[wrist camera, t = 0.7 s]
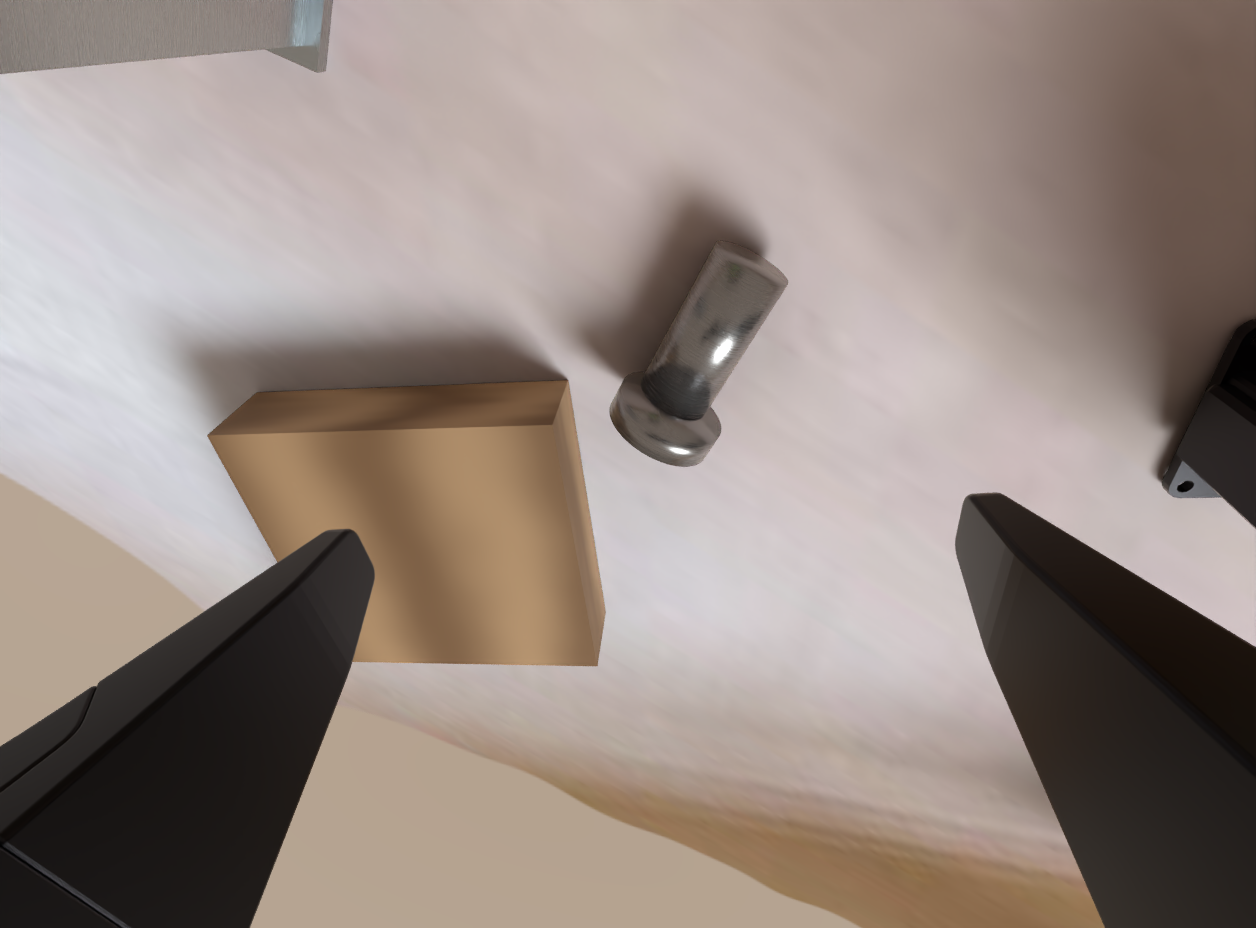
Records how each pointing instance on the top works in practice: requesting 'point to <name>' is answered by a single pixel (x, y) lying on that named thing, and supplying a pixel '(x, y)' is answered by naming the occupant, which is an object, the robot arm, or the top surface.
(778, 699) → the top surface
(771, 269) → the bolt
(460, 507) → the stand
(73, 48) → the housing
